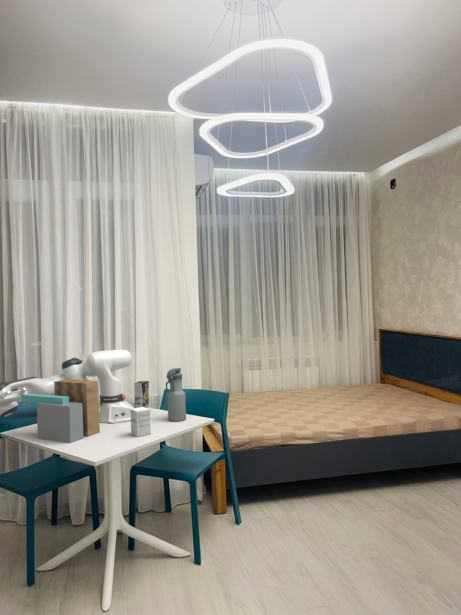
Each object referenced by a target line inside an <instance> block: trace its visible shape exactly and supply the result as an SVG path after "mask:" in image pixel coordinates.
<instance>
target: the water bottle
mask: <svg viewBox="0 0 461 615" xmlns="http://www.w3.org/2000/svg"><path fill="white" fill-rule="evenodd" d="M181 371H182V369H181V367H176V368H171V369H169V370H168V371H167V373H166V379H167V381H166V382H165V391H166V392H167V419H168V421H169V422H171V423H172V422H173V423H174V422H175V423H176V422H183V421H185V420H186V419H187V408H186V406H187V405H186V403H187V402H186V392H185V391H184V390H183V373H181ZM168 384H169V389H168Z"/></svg>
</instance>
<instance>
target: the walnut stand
mask: <svg viewBox="0 0 461 615" xmlns="http://www.w3.org/2000/svg"><path fill="white" fill-rule="evenodd" d="M54 390H55V396H68V397H69V402H76V403H82V410H83V437H86V438H87V437H91V436H93V435H97V434H100V432H101V428H100V422H99V415H100V395H99V380H90V379H89V380H88V379H87V380H75V379H64V380H59V381H54Z"/></svg>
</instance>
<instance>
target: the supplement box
mask: <svg viewBox="0 0 461 615" xmlns="http://www.w3.org/2000/svg"><path fill="white" fill-rule="evenodd" d="M151 431H152V430H151V409H150V408H148V407H147V408H145V407H139V408H135V407H134V408H133V409H131V421H130V433H131V435H132V436H135V437H137V438H140V437H145V436H150V435H151V434H152V433H151Z"/></svg>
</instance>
